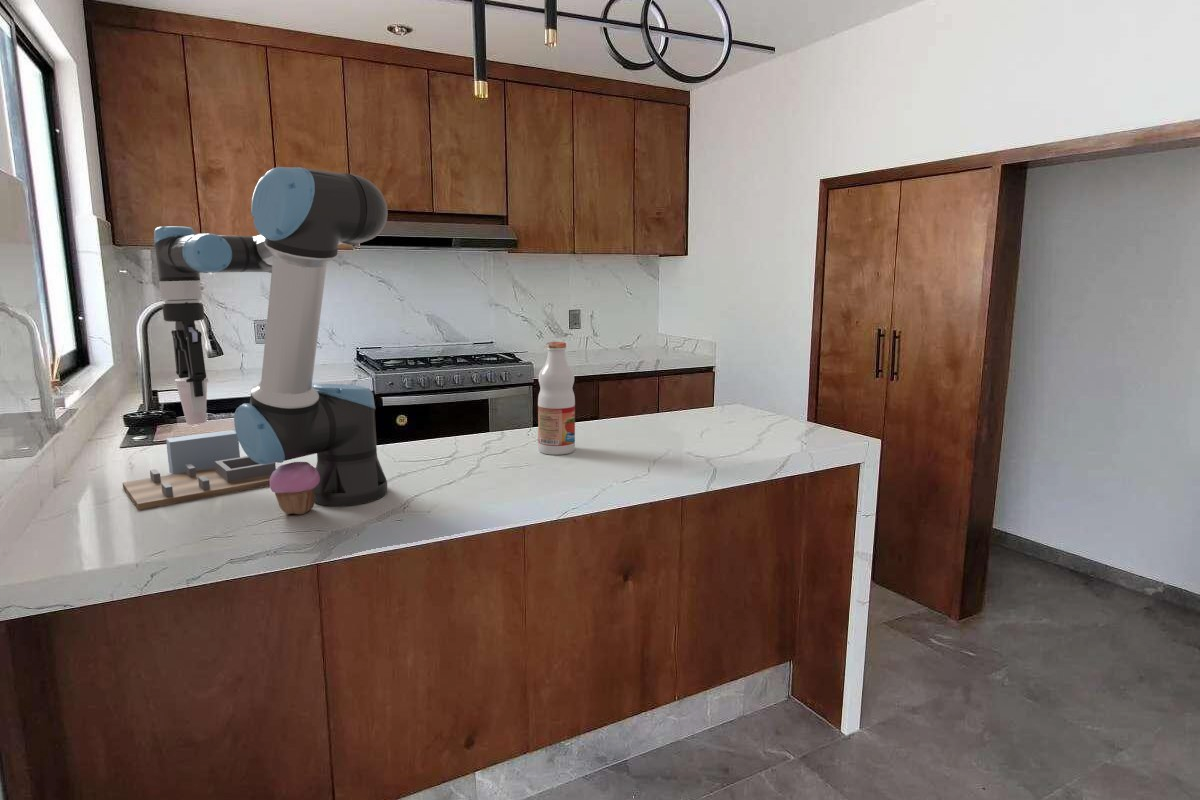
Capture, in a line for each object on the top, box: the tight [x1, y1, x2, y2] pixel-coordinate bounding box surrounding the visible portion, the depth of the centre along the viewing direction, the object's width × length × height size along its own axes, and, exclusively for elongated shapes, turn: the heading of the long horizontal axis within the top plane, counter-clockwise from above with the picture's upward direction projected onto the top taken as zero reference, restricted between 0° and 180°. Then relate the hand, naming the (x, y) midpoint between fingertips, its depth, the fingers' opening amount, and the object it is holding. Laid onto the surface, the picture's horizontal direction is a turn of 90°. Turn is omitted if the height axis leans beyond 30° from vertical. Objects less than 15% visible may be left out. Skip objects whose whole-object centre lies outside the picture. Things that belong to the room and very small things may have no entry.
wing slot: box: [149, 464, 210, 497], centre depth 152 cm, size 16×8×2 cm, turn 41°
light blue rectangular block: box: [165, 429, 241, 475], centre depth 167 cm, size 14×4×8 cm, turn 130°
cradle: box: [215, 456, 277, 482], centre depth 160 cm, size 10×10×2 cm
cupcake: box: [269, 461, 320, 515], centre depth 138 cm, size 9×9×10 cm
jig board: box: [121, 468, 271, 511], centre depth 156 cm, size 18×28×1 cm, turn 131°
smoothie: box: [174, 376, 209, 425], centre depth 155 cm, size 6×6×14 cm
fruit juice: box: [537, 341, 576, 456], centre depth 184 cm, size 9×9×28 cm
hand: (195, 409), depth 156 cm, fingers closed on smoothie, 6 cm apart
